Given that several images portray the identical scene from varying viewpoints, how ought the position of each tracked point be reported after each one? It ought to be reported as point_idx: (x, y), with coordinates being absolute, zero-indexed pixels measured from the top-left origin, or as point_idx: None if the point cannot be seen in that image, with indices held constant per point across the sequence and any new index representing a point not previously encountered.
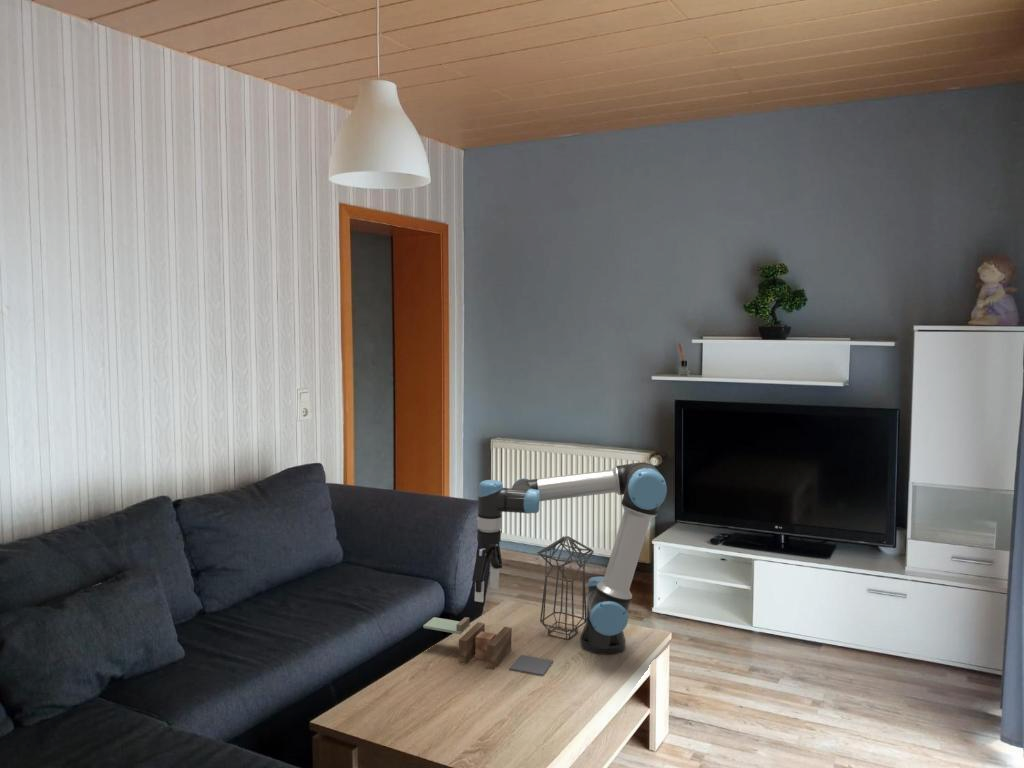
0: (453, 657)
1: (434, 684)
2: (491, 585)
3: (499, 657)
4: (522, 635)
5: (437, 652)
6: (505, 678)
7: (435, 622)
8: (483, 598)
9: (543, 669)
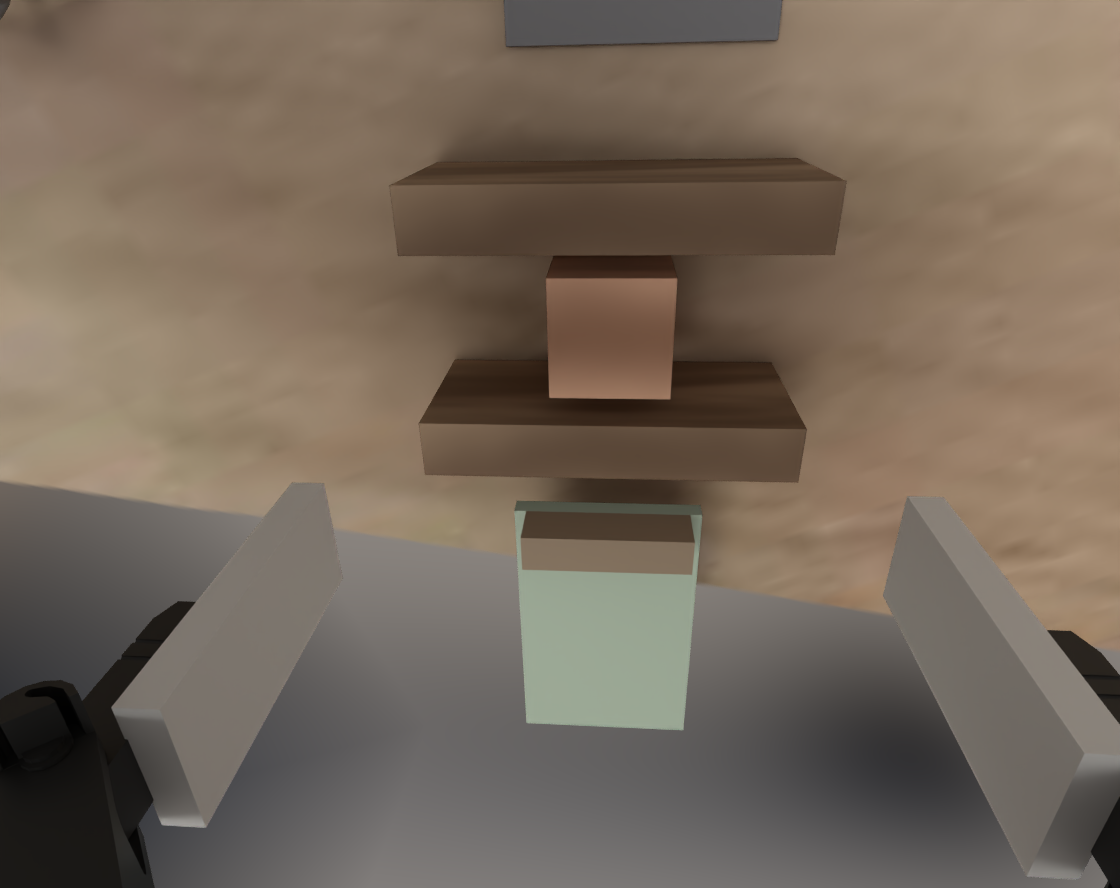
0: None
1: (1099, 422)
2: (325, 585)
3: (690, 164)
4: (163, 176)
5: None
6: (929, 10)
7: (605, 691)
8: (931, 523)
9: None
